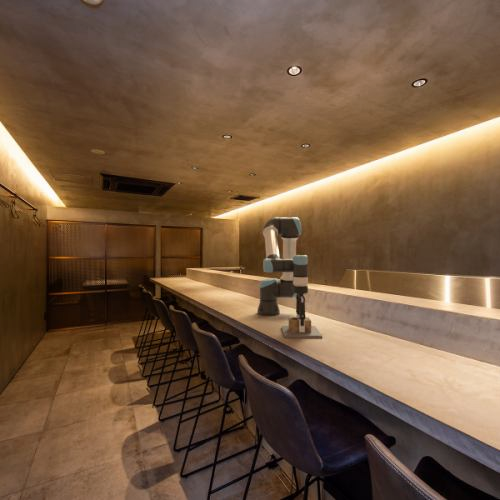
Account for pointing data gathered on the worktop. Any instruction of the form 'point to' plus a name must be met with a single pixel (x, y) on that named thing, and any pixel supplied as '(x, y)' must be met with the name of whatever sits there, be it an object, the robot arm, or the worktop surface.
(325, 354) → the worktop surface
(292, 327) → the open wooden box
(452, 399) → the worktop surface
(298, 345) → the worktop surface
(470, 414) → the worktop surface
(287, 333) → the base
